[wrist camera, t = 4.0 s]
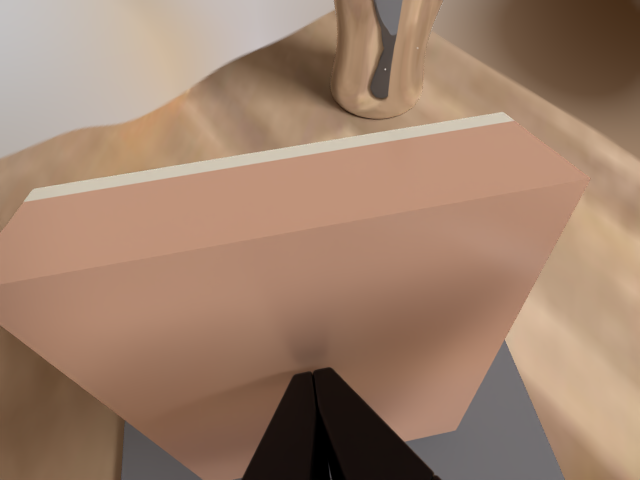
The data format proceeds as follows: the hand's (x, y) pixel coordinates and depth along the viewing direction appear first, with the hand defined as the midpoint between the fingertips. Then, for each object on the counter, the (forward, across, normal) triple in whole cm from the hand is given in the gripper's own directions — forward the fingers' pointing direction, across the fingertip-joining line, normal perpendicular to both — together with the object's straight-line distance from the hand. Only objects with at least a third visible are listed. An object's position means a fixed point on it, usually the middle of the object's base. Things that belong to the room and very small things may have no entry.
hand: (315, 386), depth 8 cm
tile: (+4, 0, +5) cm, 7 cm away
